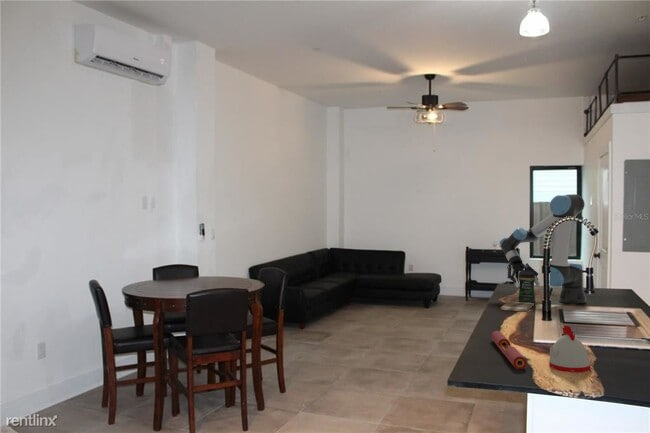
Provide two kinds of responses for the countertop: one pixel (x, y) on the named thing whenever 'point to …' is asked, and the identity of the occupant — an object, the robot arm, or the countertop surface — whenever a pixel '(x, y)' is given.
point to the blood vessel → (509, 350)
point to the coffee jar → (526, 286)
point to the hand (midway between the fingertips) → (528, 286)
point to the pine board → (517, 306)
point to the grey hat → (569, 353)
